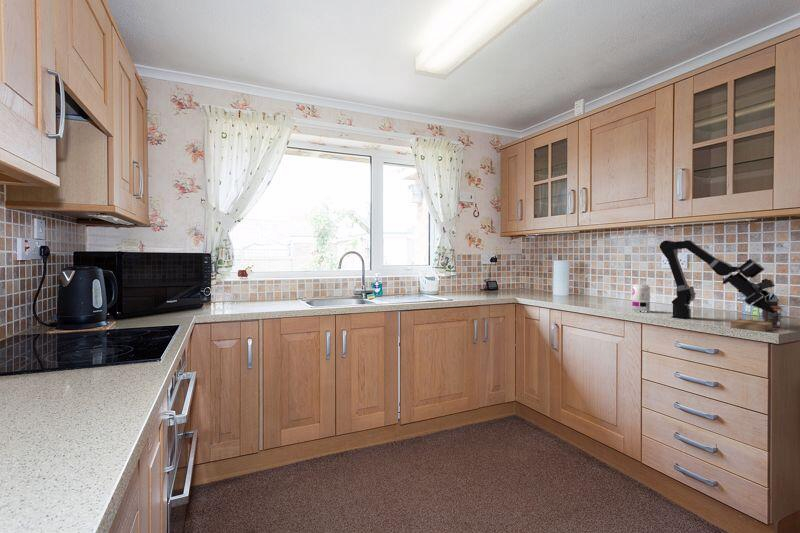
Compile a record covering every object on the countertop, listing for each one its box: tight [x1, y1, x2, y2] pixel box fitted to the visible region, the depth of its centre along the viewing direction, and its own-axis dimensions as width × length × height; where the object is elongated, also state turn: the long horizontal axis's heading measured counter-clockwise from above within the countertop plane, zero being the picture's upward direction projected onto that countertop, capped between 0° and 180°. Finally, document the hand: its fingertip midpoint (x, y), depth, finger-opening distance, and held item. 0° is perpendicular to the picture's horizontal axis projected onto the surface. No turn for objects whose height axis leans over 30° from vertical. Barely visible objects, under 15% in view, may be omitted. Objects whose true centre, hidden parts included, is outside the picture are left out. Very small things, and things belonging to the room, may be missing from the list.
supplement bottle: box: [761, 300, 782, 329], centre depth 172 cm, size 6×6×11 cm
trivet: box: [730, 318, 773, 332], centre depth 169 cm, size 11×11×3 cm
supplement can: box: [631, 283, 651, 313], centre depth 220 cm, size 8×8×15 cm
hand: (775, 312), depth 171 cm, fingers closed on supplement bottle, 6 cm apart
